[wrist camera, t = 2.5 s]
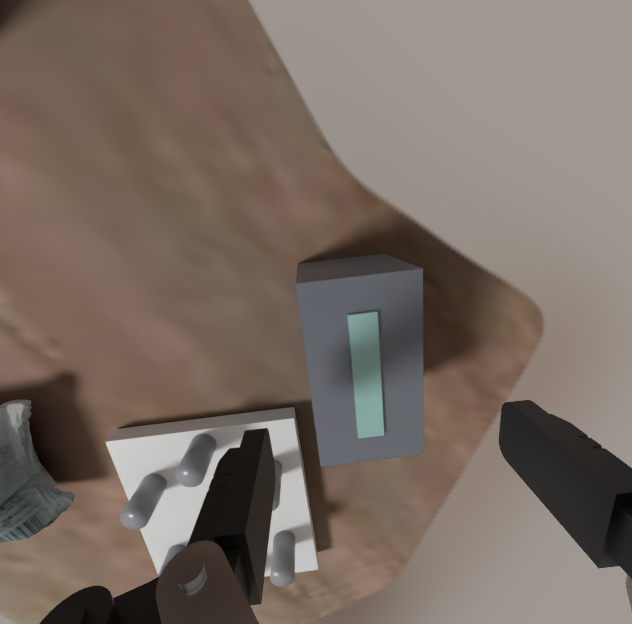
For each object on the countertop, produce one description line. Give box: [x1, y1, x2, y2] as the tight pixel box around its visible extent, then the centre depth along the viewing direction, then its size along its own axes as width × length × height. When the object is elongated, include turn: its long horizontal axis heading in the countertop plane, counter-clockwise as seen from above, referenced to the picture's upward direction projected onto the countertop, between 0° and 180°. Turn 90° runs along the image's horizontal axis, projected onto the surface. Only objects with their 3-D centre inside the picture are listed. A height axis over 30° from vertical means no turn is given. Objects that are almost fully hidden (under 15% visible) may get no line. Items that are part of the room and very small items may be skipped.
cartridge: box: [296, 253, 424, 467], centre depth 16 cm, size 9×5×6 cm, turn 6°
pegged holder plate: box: [106, 407, 318, 586], centre depth 20 cm, size 14×12×4 cm
